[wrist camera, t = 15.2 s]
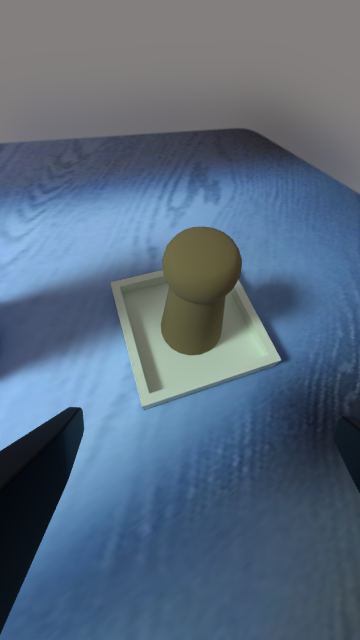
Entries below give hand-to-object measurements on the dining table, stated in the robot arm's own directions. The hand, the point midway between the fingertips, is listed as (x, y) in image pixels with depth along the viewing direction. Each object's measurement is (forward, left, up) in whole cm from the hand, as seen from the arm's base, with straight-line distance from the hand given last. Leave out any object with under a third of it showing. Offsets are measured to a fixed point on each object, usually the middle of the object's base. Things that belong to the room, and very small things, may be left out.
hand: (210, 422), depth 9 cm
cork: (+9, -4, -13) cm, 17 cm away
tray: (+10, -4, -14) cm, 17 cm away
